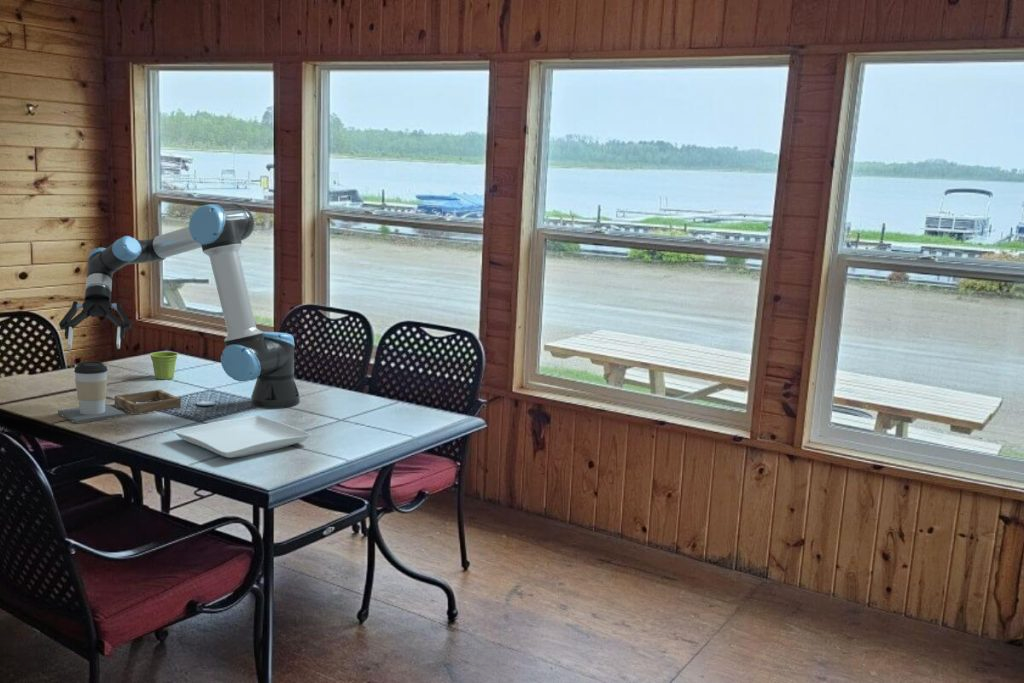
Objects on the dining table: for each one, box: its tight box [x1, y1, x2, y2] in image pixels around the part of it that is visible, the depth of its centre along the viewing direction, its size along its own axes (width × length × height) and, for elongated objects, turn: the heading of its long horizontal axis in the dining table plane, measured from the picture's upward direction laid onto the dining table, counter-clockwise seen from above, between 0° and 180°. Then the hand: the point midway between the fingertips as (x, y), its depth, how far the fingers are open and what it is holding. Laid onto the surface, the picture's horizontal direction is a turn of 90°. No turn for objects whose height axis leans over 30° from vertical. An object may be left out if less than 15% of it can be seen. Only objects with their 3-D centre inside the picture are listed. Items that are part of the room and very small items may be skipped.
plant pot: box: [149, 351, 179, 380], centre depth 320 cm, size 9×9×9 cm
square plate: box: [172, 415, 312, 459], centre depth 250 cm, size 27×27×4 cm
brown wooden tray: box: [114, 389, 182, 415], centre depth 282 cm, size 14×14×3 cm
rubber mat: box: [57, 403, 126, 424], centre depth 270 cm, size 14×14×1 cm
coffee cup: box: [73, 360, 109, 415], centre depth 269 cm, size 9×9×15 cm
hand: (94, 346), depth 277 cm, fingers open, 13 cm apart
